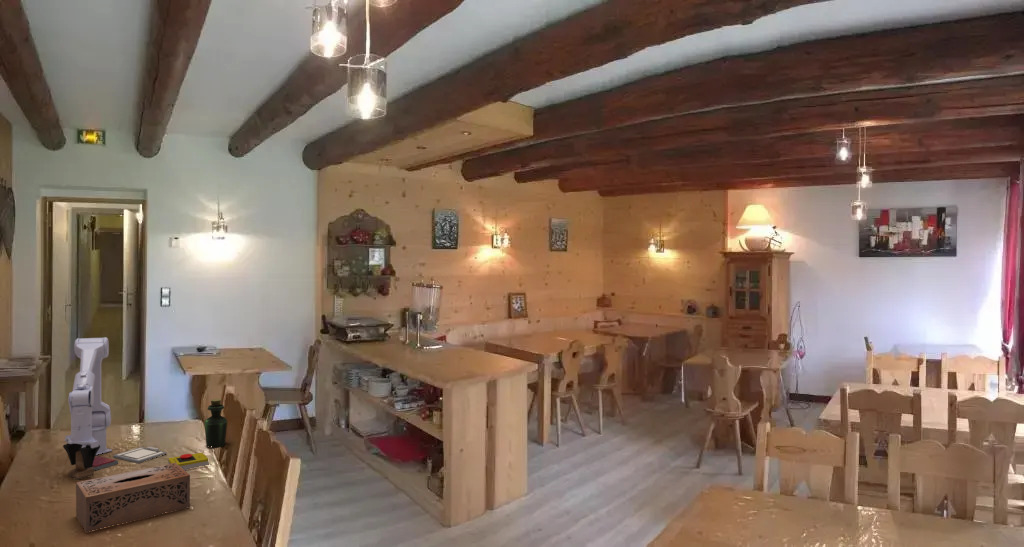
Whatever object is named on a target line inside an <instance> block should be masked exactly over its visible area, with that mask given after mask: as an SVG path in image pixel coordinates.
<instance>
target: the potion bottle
mask: <svg viewBox="0 0 1024 547" xmlns="http://www.w3.org/2000/svg"><path fill="white" fill-rule="evenodd" d="M210 404H211V405H208V407H207V410H208V411H210V414H211V416H210V417H207V418H206V419H205V420H204V434H205V445H206V447H207V446H209V447H211V446H212V448H211V449H218V448H222V447H224V446H226V438H227V429H228V428H227V427H228V419H227V418H226V417H224V416H222V415H221V413H222V410H224V409H225V407H224V404H222V399H221V398H213V399H210Z"/></svg>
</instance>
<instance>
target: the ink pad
mask: <svg viewBox="0 0 1024 547" xmlns="http://www.w3.org/2000/svg"><path fill="white" fill-rule="evenodd" d="M115 465H119V459H115V458H109V457H104V456H100V455H97V456H95V458H94V462H93V465H92V467H90V468H94V470H96V471H99V470H102V468H103V469H105V468H108V467H112V466H115ZM98 469H99V470H98Z"/></svg>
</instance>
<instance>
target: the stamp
mask: <svg viewBox="0 0 1024 547" xmlns="http://www.w3.org/2000/svg"><path fill="white" fill-rule="evenodd" d="M94 474H95V471H94V468H86V469H85V468H84V463H83V457H82V454H81V452H80V451H77V452H76V464H75V468H74V469H73V468H72V469H71V470H69V471H68V476H69V478H70V477H71V479H74V478H75V480H78V479H79V480H82V479H81V478H83V479H85V478H84V477H86V478H88V476H89V477H92V476H94ZM91 475H92V476H91Z"/></svg>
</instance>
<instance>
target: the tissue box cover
mask: <svg viewBox="0 0 1024 547" xmlns="http://www.w3.org/2000/svg"><path fill="white" fill-rule="evenodd" d="M190 478H191V475H190V473H188V472H187V471H185V470H183V469H182V468H181V467H180V466H179V465H177V464H176V463H171V464H168V463H166V464H162V465H161V464H160V465H157V466H153V467H146V468H141V469H137V470H132V471H127V472H121V473H118V474H116V473H115V474H111V475H107V476H106V475H105V476H102V477H96V478H92V479H87V480H82V481H77V482H75V509H76V510H75V513H76V514H75V515H76V516H77V517H76V516H75V517H76V518H77V520H78V522H79V521H80V522H79V524H80V523H81V524H80V526H81V527H82V526H83V527H82V528H84V529H83V530H84V532H85V531H86V532H89V531H92V530H96V529H100V528H104V527H108V526H112V525H117V524H122V523H126V522H130V521H134V520H138V521H140V520H139V519H142V520H144V519H143V518H146V519H148V518H147V517H150V518H152V517H151V516H154V515H158V514H162V513H165V512H170V513H172V512H171V511H174V512H176V511H175V510H178V511H180V510H179V509H182V510H184V509H183V508H186V509H188V508H187V507H190V508H191V479H190ZM162 515H163V514H162ZM158 516H159V515H158ZM154 517H155V516H154ZM134 522H135V521H134ZM130 523H131V522H130ZM126 524H127V523H126ZM122 525H123V524H122ZM117 526H118V525H117ZM86 532H85V533H86ZM89 533H90V532H89Z"/></svg>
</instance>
